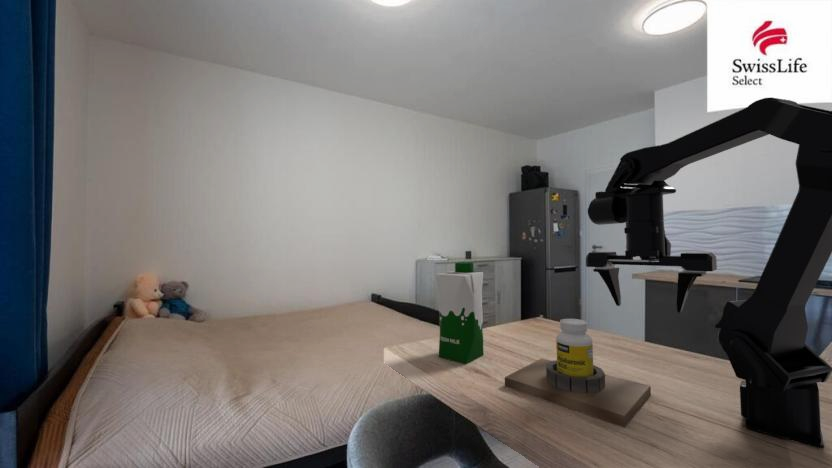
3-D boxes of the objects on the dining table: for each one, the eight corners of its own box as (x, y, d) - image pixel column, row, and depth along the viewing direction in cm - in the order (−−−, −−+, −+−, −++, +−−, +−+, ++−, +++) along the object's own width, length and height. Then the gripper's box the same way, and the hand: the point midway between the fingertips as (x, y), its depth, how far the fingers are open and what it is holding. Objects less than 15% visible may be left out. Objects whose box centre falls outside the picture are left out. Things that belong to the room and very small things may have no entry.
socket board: (650, 395, 53) (650, 372, 53) (624, 427, 44) (623, 400, 44) (541, 366, 66) (541, 348, 66) (504, 386, 57) (504, 365, 57)
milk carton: (489, 354, 73) (487, 262, 74) (467, 367, 67) (464, 265, 67) (455, 347, 79) (453, 261, 80) (431, 357, 72) (430, 264, 73)
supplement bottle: (552, 382, 55) (550, 321, 55) (564, 372, 59) (561, 315, 59) (588, 391, 51) (585, 326, 52) (598, 380, 55) (595, 320, 56)
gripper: (719, 220, 60) (722, 309, 59) (603, 225, 73) (606, 297, 73) (709, 217, 52) (714, 319, 52) (583, 224, 66) (586, 304, 65)
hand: (647, 308), depth 61 cm, fingers open, 9 cm apart
